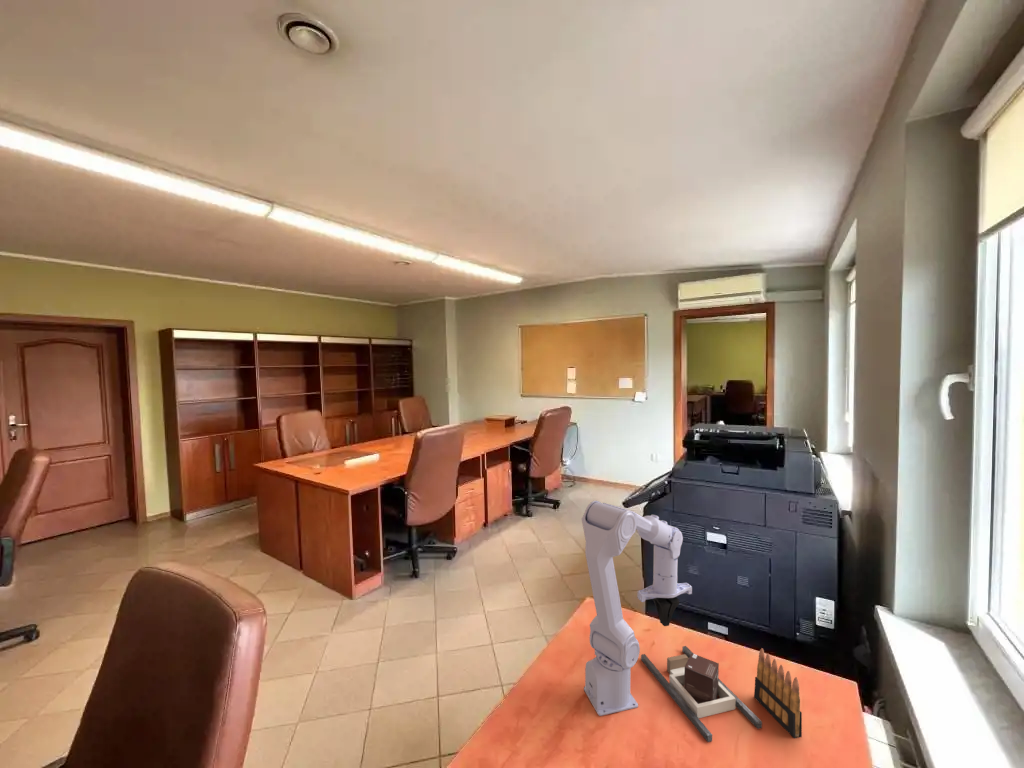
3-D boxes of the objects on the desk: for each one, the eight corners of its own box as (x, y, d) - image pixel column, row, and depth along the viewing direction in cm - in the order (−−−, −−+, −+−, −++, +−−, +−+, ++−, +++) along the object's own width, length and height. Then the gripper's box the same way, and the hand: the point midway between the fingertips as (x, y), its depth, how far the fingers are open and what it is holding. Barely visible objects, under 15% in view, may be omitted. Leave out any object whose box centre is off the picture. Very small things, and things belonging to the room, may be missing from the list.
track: (707, 743, 84) (707, 735, 83) (641, 660, 107) (641, 654, 107) (761, 728, 87) (762, 721, 87) (685, 651, 110) (685, 645, 110)
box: (712, 712, 91) (713, 679, 90) (683, 698, 94) (683, 666, 94) (718, 694, 95) (719, 663, 95) (690, 682, 99) (691, 651, 99)
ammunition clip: (753, 697, 95) (755, 645, 94) (760, 696, 95) (762, 644, 95) (794, 739, 84) (796, 681, 84) (802, 737, 85) (804, 680, 84)
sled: (697, 718, 89) (697, 704, 89) (658, 672, 102) (658, 659, 102) (735, 709, 91) (735, 694, 91) (692, 665, 105) (693, 652, 105)
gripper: (680, 560, 113) (679, 610, 114) (631, 567, 109) (630, 618, 110) (698, 573, 106) (696, 626, 107) (646, 581, 102) (645, 635, 103)
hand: (664, 623), depth 108 cm, fingers closed
